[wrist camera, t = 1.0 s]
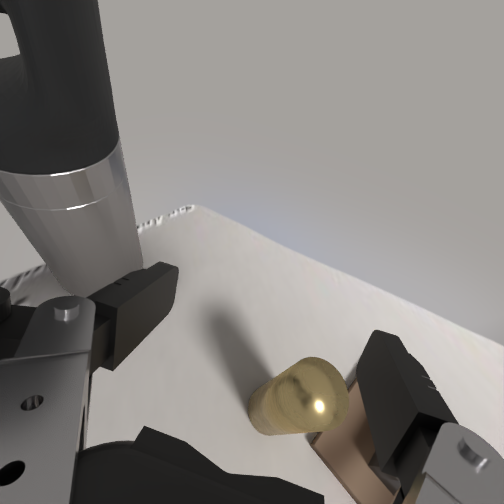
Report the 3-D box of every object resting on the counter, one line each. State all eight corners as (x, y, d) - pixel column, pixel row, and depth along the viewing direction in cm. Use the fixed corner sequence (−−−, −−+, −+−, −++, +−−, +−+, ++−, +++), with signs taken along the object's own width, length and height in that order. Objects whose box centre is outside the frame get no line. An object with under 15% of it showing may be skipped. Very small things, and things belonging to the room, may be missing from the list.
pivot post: (239, 407, 26) (274, 387, 17) (268, 376, 28) (313, 344, 19) (268, 447, 25) (325, 449, 15) (297, 411, 27) (360, 394, 18)
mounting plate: (309, 445, 26) (328, 445, 22) (373, 352, 33) (393, 343, 30) (480, 655, 20) (536, 695, 17) (509, 486, 28) (552, 491, 24)
